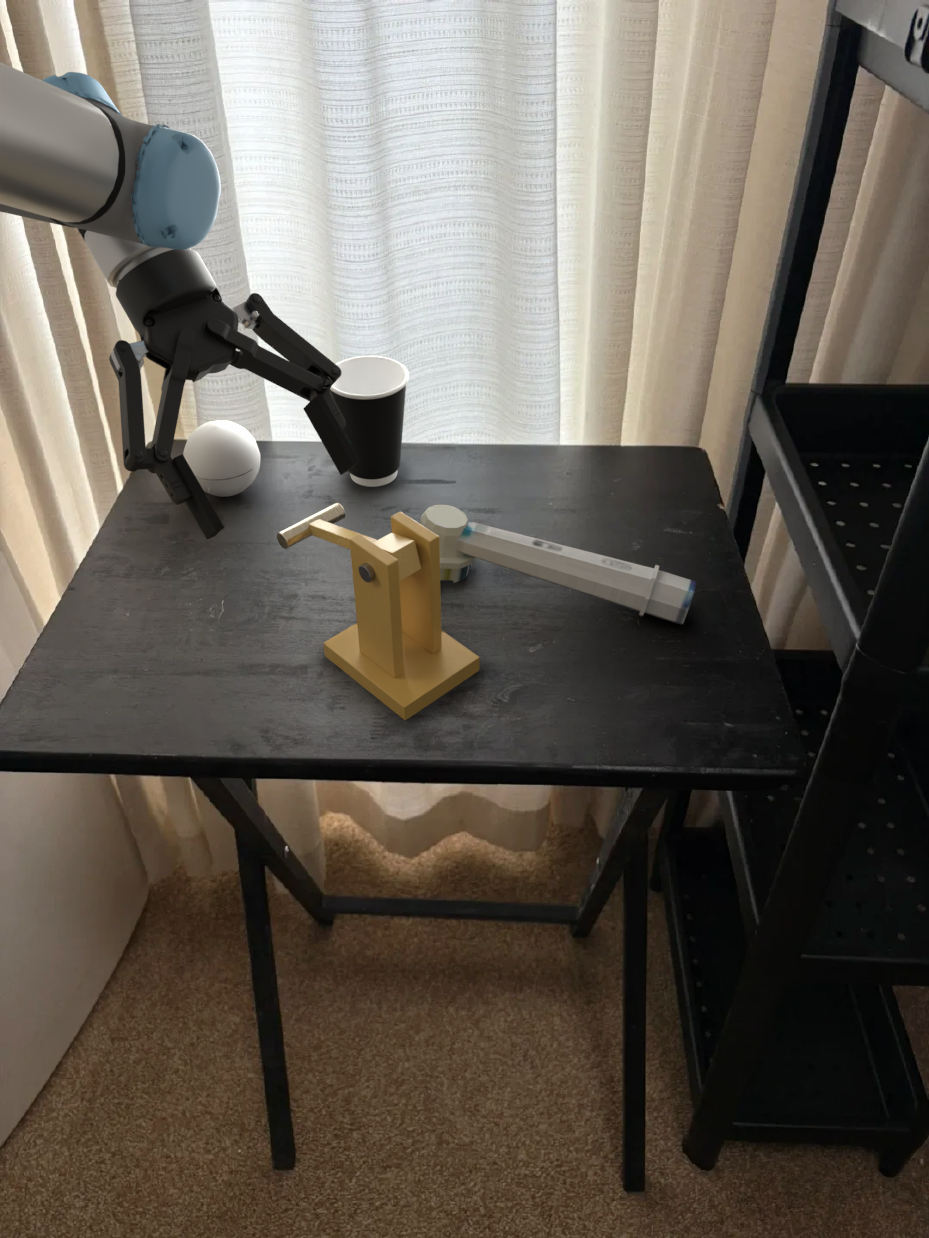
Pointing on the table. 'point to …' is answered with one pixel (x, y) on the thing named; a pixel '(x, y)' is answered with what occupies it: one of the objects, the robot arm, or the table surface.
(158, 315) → the robot arm
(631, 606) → the white handheld electric wand
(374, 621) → the yellow lever stand
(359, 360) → the dixie cup
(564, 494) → the table surface
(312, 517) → the tap lever
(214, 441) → the white sphere
